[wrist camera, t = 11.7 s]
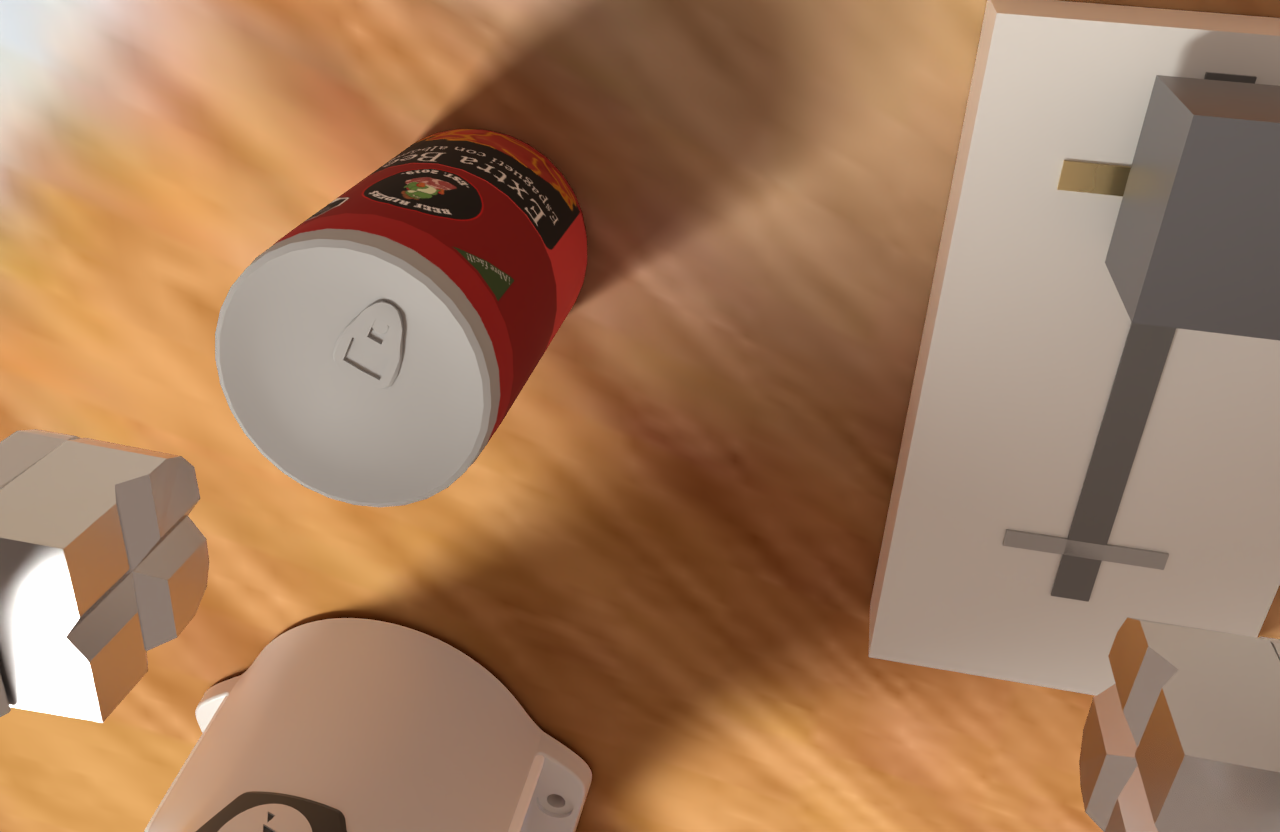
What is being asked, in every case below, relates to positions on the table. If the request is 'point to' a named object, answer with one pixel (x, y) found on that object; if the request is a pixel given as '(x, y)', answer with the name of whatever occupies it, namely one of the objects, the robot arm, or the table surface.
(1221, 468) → the slider panel
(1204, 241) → the block
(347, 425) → the canned food
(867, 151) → the table surface
